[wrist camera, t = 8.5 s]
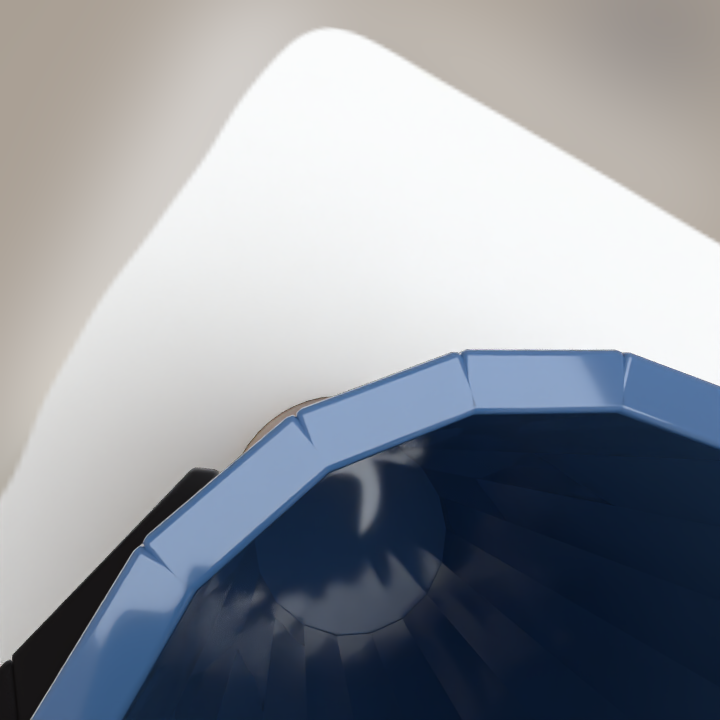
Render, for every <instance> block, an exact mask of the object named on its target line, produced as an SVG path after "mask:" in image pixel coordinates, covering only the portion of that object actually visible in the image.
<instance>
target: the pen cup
mask: <svg viewBox="0 0 720 720" xmlns="http://www.w3.org/2000/svg"><path fill="white" fill-rule="evenodd" d="M30 720H720V386H718V385H715V384H712V383H710V382H707V381H704V380H702V379H699V378H696V377H694V376H691V375H688V374H685V373H683V372H680V371H677V370H675V369H672V368H669V367H667V366H664V365H661V364H659V363H656V362H653V361H651V360H648V359H645V358H643V357H640V356H637V355H635V354H632V353H629V352H626V353H622V352H620V351H617V350H557V349H466V350H464V351H462V352H460V353H458V352H450V353H448V354H445V355H442V356H440V357H437V358H434V359H431V360H429V361H426V362H423V363H421V364H418V365H415V366H413V367H410V368H407V369H405V370H402V371H399V372H397V373H394V374H391V375H389V376H386V377H383V378H381V379H378V380H375V381H373V382H370V383H367V384H365V385H362V386H359V387H357V388H354V389H351V390H349V391H346V392H343V393H340V394H338V395H335V396H332V397H330V398H327V399H324V400H322V401H319V402H316V403H314V404H311V405H308V406H306V407H303V408H301V409H300V410H299V411H298V412H297V413H296V416H294V415H291V416H288V417H286V418H285V419H283V420H282V421H281V422H280V423H279V424H278V425H276V426H275V427H274V428H273V429H272V430H270V431H269V432H268V433H267V434H266V435H265V436H263V437H262V438H261V439H260V440H259V441H257V442H256V443H255V444H254V445H253V446H252V447H250V448H249V449H248V450H247V451H246V452H244V453H243V454H242V455H241V456H240V457H239V458H237V459H236V460H235V461H234V462H233V463H231V464H230V465H229V466H228V467H227V468H226V469H224V470H223V471H222V472H221V473H220V474H218V475H217V476H216V477H215V478H214V479H213V480H211V481H210V482H209V483H208V484H207V485H205V486H204V487H203V488H202V489H201V490H200V491H198V492H197V493H196V494H195V495H194V496H192V497H191V498H190V499H189V500H188V501H187V502H185V503H184V504H183V505H182V506H181V507H179V508H178V509H177V510H176V511H175V512H173V513H172V514H171V515H170V516H169V517H168V518H166V519H165V520H164V521H163V522H162V523H160V524H159V525H158V526H157V527H156V528H155V529H153V530H152V531H151V532H150V533H149V534H147V536H146V537H145V539H144V541H143V544H141V545H140V546H139V547H137V548H136V549H135V550H134V551H133V552H132V554H131V556H130V557H129V559H128V560H127V562H126V564H125V565H124V567H123V569H122V570H121V572H120V574H119V575H118V577H117V578H116V580H115V582H114V583H113V585H112V587H111V588H110V590H109V592H108V593H107V595H106V596H105V598H104V600H103V601H102V603H101V605H100V606H99V608H98V610H97V611H96V613H95V615H94V616H93V618H92V619H91V621H90V623H89V624H88V626H87V628H86V629H85V631H84V633H83V634H82V636H81V637H80V639H79V641H78V642H77V644H76V646H75V647H74V649H73V651H72V652H71V654H70V655H69V657H68V659H67V660H66V662H65V664H64V665H63V667H62V669H61V670H60V672H59V673H58V675H57V677H56V678H55V680H54V682H53V683H52V685H51V687H50V688H49V690H48V691H47V693H46V695H45V696H44V698H43V700H42V701H41V703H40V705H39V706H38V708H37V710H36V711H35V713H34V714H33V716H32V718H31V719H30Z"/></svg>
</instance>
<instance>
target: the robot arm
mask: <svg viewBox="0 0 720 720" xmlns="http://www.w3.org/2000/svg"><path fill="white" fill-rule="evenodd" d="M218 474H219V472H218V471H217V470H215V469H206V468H194V469H192V470H190V471H189V472H188V473H187V474H186V475H185V476H184V478H183V479H182V480H181V481H180V482H179V483H178V484H177V485H176V486H175V487H174V488H173V489H172V490H171V491H170V492H169V493H168V494H167V495H166V496H165V497H164V498H163V499H162V500H161V501H160V502H159V503H158V505H157V506H156V507H155V508H154V509H153V510H152V511H151V512H150V513H149V514H148V515H147V516H146V517H145V518H144V519H143V520H142V521H141V522H140V523H139V524H138V525H137V526H136V527H135V528H134V529H133V530H132V531H131V533H130V534H129V535H128V536H127V537H126V538H125V539H124V540H123V541H122V542H121V543H120V544H119V545H118V546H117V547H116V548H115V549H114V550H113V551H112V552H111V553H110V554H109V555H108V556H107V557H106V558H105V560H104V561H103V562H102V563H101V564H100V565H99V566H98V567H97V568H96V569H95V570H94V571H93V572H92V573H91V574H90V575H89V576H88V577H87V578H86V579H85V580H84V581H83V582H82V583H81V584H80V585H79V586H78V588H77V589H76V590H75V591H74V592H73V593H72V594H71V595H70V596H69V597H68V598H67V599H66V600H65V601H64V602H63V603H62V604H61V605H60V606H59V607H58V608H57V609H56V610H55V611H54V612H53V613H52V615H51V616H50V617H49V618H48V619H47V620H46V621H45V622H44V623H43V624H42V625H41V626H40V627H39V628H38V629H37V630H36V631H35V632H34V633H33V634H32V635H31V636H30V637H29V638H28V639H27V640H26V642H25V643H24V644H23V645H22V646H21V647H20V648H19V649H18V650H17V651H16V652H15V653H14V654H13V656H12V661H11V660H8V661H6V662H5V663H4V664H3V665H2V666H1V667H0V720H30V719H31V718H32V716H33V714H34V713H35V711H36V710H37V708H38V706H39V705H40V703H41V701H42V700H43V698H44V696H45V695H46V693H47V691H48V690H49V688H50V687H51V685H52V683H53V682H54V680H55V678H56V677H57V675H58V673H59V672H60V670H61V669H62V667H63V665H64V664H65V662H66V660H67V659H68V657H69V655H70V654H71V652H72V651H73V649H74V647H75V646H76V644H77V642H78V641H79V639H80V637H81V636H82V634H83V633H84V631H85V629H86V628H87V626H88V624H89V623H90V621H91V619H92V618H93V616H94V615H95V613H96V611H97V610H98V608H99V606H100V605H101V603H102V601H103V600H104V598H105V596H106V595H107V593H108V592H109V590H110V588H111V587H112V585H113V583H114V582H115V580H116V578H117V577H118V575H119V574H120V572H121V570H122V569H123V567H124V565H125V564H126V562H127V560H128V559H129V557H130V556H131V554H132V552H133V551H134V550H135V549H136V548H137V547H139V546H140V545H141V544H143V541H144V539H145V537H146V536H147V534H149V533H150V532H151V531H152V530H153V529H155V528H156V527H157V526H158V525H159V524H160V523H162V522H163V521H164V520H165V519H166V518H168V517H169V516H170V515H171V514H172V513H173V512H175V511H176V510H177V509H178V508H179V507H181V506H182V505H183V504H184V503H185V502H187V501H188V500H189V499H190V498H191V497H192V496H194V495H195V494H196V493H197V492H198V491H200V490H201V489H202V488H203V487H204V486H205V485H207V484H208V483H209V482H210V481H211V480H213V479H214V478H215V477H216V476H217V475H218Z"/></svg>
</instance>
